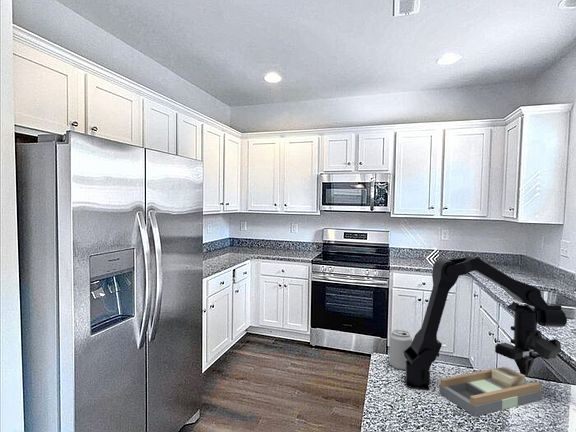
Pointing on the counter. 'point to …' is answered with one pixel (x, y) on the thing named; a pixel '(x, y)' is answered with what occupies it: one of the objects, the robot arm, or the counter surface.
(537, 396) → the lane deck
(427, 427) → the counter surface
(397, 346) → the can
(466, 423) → the counter surface
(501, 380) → the maple block
